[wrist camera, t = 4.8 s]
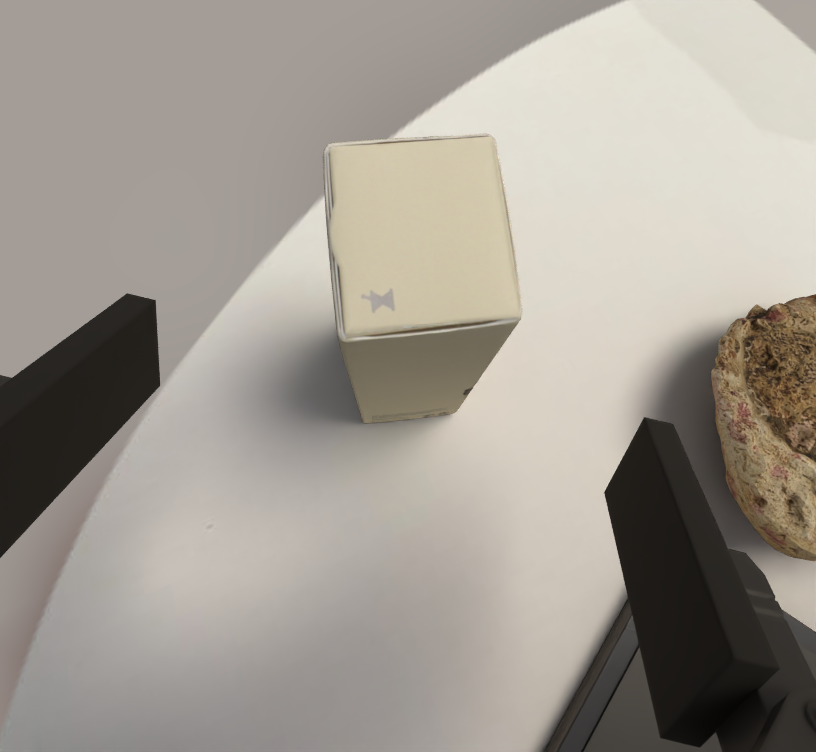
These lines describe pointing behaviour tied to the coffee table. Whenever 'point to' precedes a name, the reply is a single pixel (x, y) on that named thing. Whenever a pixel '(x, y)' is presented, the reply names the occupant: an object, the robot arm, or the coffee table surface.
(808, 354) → the tan rough lump
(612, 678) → the tablet
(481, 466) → the coffee table surface
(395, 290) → the box
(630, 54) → the coffee table surface
